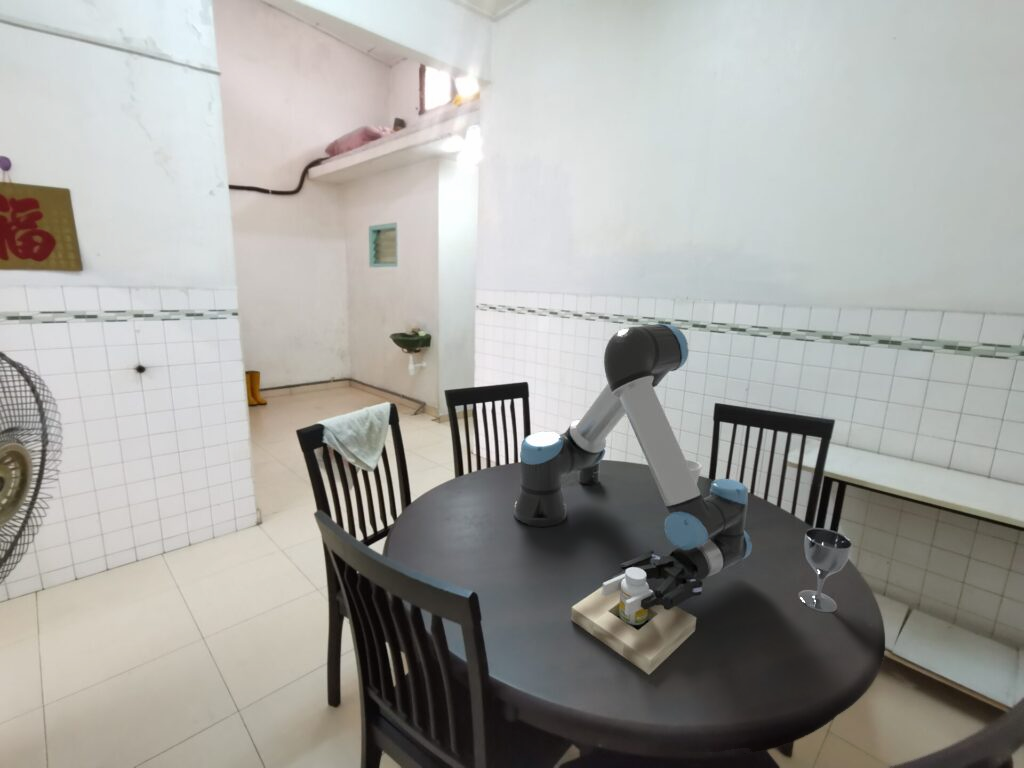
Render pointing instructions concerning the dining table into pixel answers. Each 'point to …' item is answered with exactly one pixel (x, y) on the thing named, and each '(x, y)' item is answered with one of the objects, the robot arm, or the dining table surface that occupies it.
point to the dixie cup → (694, 469)
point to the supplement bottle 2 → (633, 594)
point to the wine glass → (824, 564)
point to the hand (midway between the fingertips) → (614, 598)
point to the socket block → (633, 644)
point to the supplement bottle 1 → (590, 475)
